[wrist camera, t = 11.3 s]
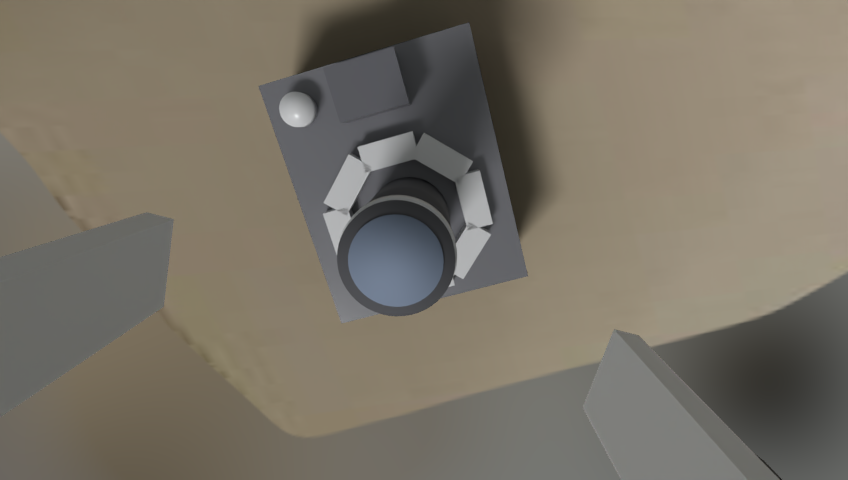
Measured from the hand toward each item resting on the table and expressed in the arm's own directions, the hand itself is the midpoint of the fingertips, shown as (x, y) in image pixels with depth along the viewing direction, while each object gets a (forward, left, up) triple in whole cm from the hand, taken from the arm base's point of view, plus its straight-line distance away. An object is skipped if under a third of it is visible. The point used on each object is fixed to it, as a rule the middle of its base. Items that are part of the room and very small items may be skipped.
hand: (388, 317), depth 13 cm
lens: (0, 0, -16) cm, 16 cm away
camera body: (0, -2, -22) cm, 22 cm away
